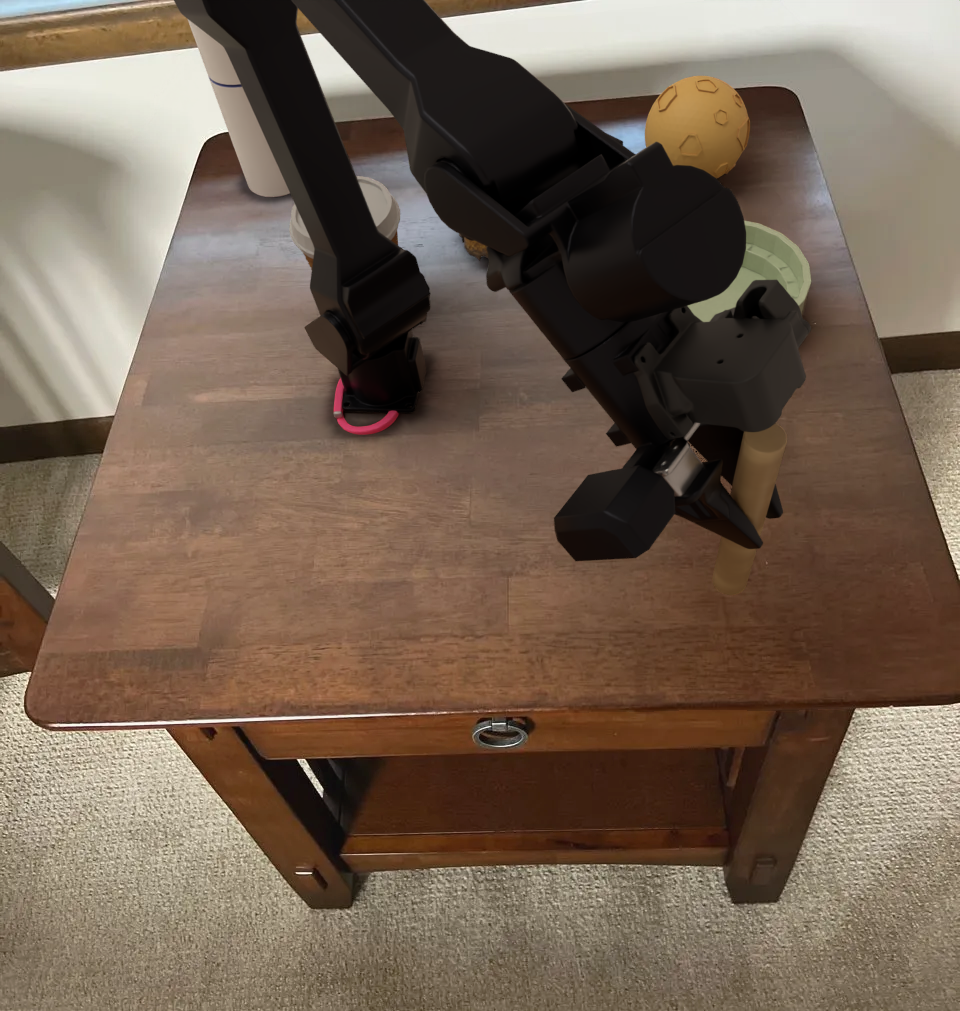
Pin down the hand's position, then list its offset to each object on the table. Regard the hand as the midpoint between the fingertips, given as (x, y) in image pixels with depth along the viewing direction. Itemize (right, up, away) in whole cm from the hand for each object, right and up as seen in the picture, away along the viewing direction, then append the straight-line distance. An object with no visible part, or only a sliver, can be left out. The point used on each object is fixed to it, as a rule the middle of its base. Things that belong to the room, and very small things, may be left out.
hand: (766, 531), depth 53 cm
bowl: (+5, +19, +29) cm, 35 cm away
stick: (0, -3, +6) cm, 7 cm away
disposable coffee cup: (-27, +20, +34) cm, 47 cm away
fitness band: (-26, +10, +28) cm, 40 cm away
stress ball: (+5, +35, +40) cm, 54 cm away
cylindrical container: (-38, +37, +47) cm, 71 cm away
